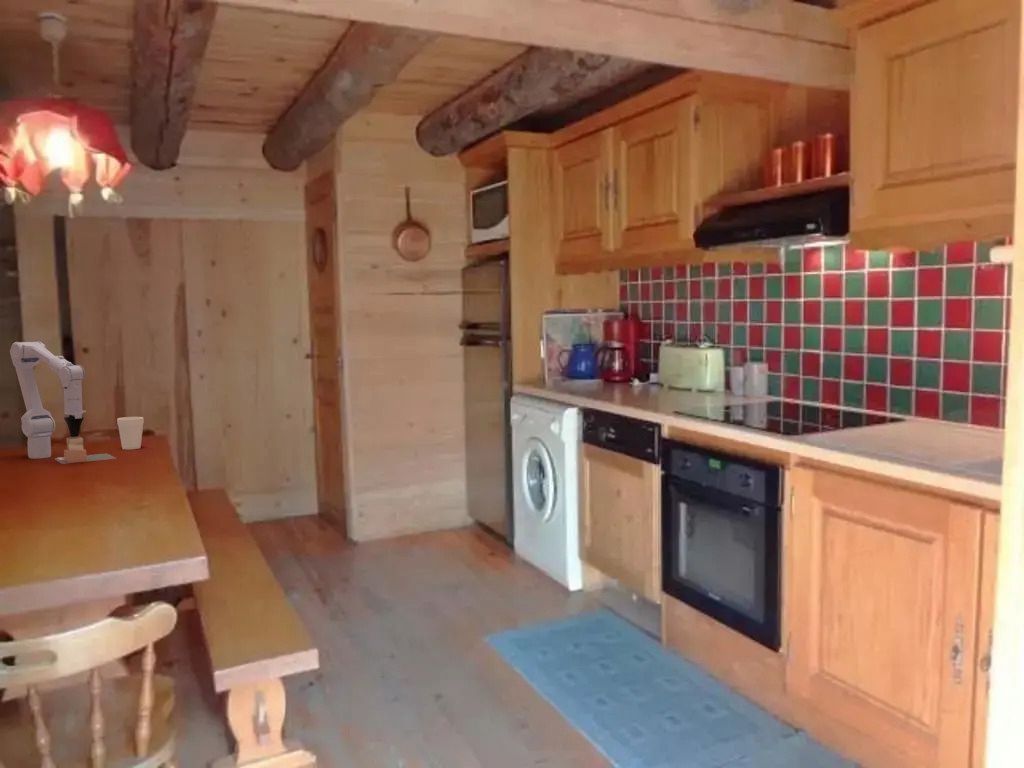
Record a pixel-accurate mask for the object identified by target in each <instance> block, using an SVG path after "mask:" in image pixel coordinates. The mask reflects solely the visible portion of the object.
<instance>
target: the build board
mask: <svg viewBox="0 0 1024 768" xmlns="http://www.w3.org/2000/svg"><path fill="white" fill-rule="evenodd" d="M57 458H58V457H55V458H54V459H53V460H55V461H57V462H58V463H60V464H62V465H66V464H69V463H67V462H66V461H64V460H59V459H57ZM114 459H115V460H116V459H117V457H115V456H113V455H111V454H110V453H107V452H106V453H98V454H96V453H95V454H87V461H84V462H95V461H97V462H98V461H105V460H114ZM84 462H83V463H84ZM76 463H78V462H74V463H73V464H76Z"/></svg>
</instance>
